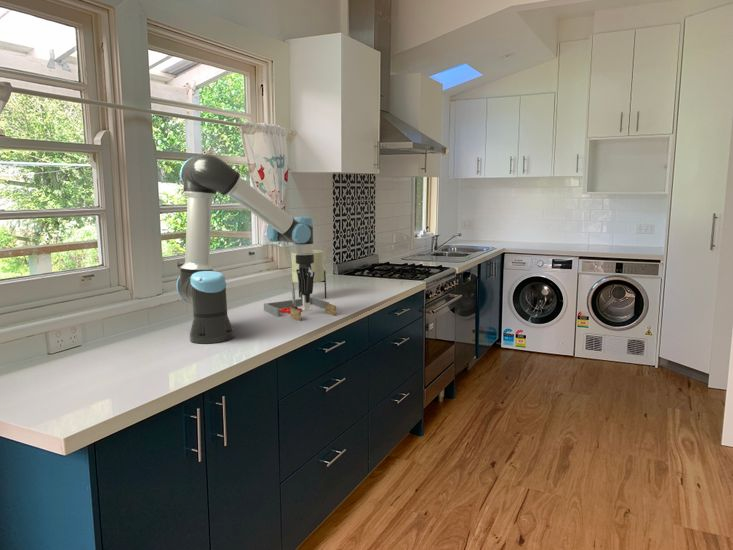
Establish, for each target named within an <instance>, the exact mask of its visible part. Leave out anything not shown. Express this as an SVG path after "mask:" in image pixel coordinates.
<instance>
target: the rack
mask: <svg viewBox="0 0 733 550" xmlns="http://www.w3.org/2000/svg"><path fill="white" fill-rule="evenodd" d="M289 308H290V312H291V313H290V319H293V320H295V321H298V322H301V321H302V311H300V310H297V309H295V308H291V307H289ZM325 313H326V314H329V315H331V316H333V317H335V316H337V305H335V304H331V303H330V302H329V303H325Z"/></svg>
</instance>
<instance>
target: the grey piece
mask: <svg viewBox="0 0 733 550" xmlns="http://www.w3.org/2000/svg"><path fill="white" fill-rule="evenodd" d="M295 300H296V306H297V307H303V299H301V298H298V299H296V298H295ZM292 301H293V299H290V300H282V301H275V302H274V301H273V302H266V303H263V311H264V312H267V313H269V314H272V315H274V316H276V317H281V312H280V309H283V308H291V307H293V304H292ZM325 303H329V304H330V302H329V301H327V300H322V299H319V298H316V297H315V296H314V297H313V296H312V297H311V296H310V306H311V305H314V306H316V307H319V308H322V309H325Z"/></svg>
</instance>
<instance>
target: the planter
mask: <svg viewBox="0 0 733 550" xmlns="http://www.w3.org/2000/svg"><path fill="white" fill-rule="evenodd" d="M312 254H313V255H314V263H312V264H311V271H312V272H315V274H314V280H313V284H315V283H324V299H327V280H326V279H327V275H326V274H327V273H326V270H325V262H324V261H325V258H324V251H323V250H320V249H313V253H312ZM290 255H291V256H290V259H291V278H292V283H296V284H298V285H297V286H299V283H298V275H297V272H296V270H297V269H299V264H297V263H296V255H297V254H296V253H295V250H293V251H291V253H290ZM302 295H303V294H302V293H301V292H300V290H299V289H298V298H300V299H303V297H302Z"/></svg>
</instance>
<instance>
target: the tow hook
mask: <svg viewBox="0 0 733 550" xmlns="http://www.w3.org/2000/svg"><path fill="white" fill-rule="evenodd" d="M294 283H295V282H292V283H291V296H292V299H291V300H293V301H292V304H293V307H289V308H281V309H280V313H286V314H291V312H290V308H295V309H297V310H300V311H301V312H302V311H303V308H301V307H300V308H299V307H298V306H296V292H295V291H296V290H295V289H296V288H295V285H294Z"/></svg>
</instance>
